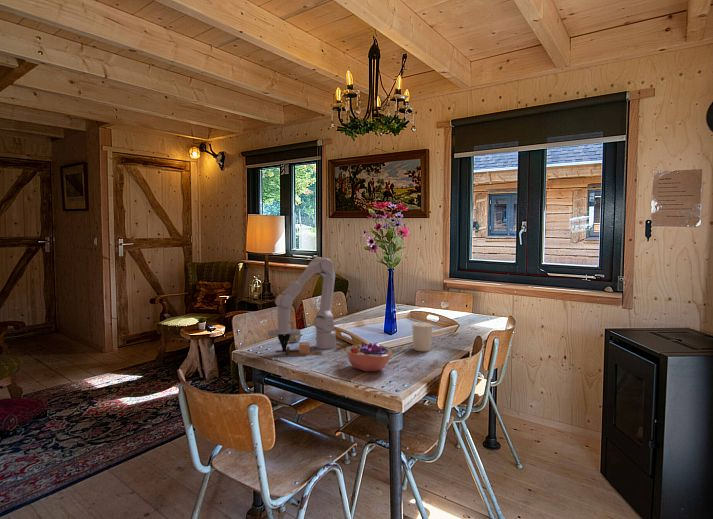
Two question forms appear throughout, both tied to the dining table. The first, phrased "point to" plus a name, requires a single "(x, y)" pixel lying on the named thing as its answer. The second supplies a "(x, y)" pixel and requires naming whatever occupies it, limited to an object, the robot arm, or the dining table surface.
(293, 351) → the lane rails
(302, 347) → the block
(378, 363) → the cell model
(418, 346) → the candle holder
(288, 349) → the brown boxy piece
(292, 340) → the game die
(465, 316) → the dining table surface
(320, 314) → the robot arm
